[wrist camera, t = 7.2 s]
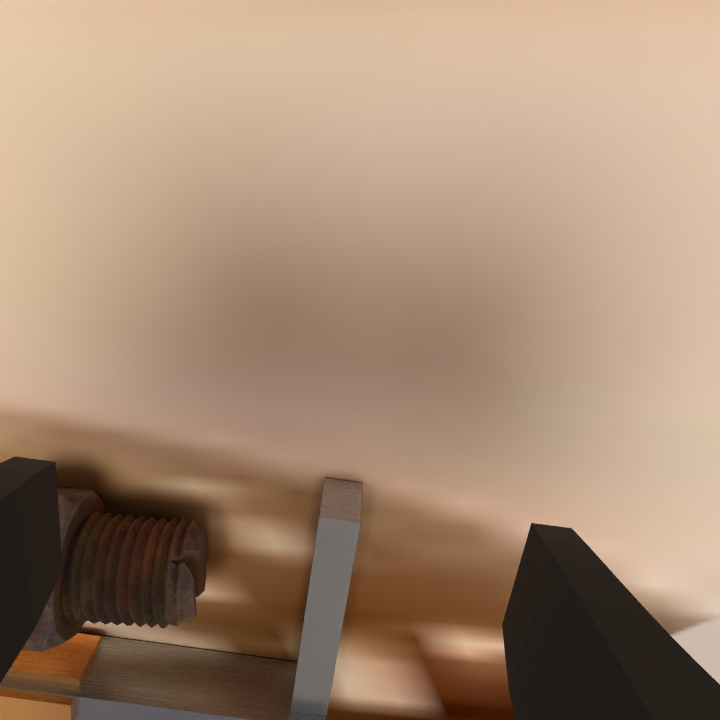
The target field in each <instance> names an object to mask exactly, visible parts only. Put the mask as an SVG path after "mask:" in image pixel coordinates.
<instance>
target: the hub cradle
mask: <svg viewBox="0 0 720 720" xmlns="http://www.w3.org/2000/svg"><path fill="white" fill-rule="evenodd" d="M362 492H363V483H358V482H351V481H344V480H337V479H330V478H325V481H324V488H323V495H322V502H321V508H320V515H319V522H318V529H317V535H316V542H315V549H314V556H313V562H312V569H311V576H310V583H309V589H308V596H307V603H306V610H305V616H304V623H303V630H302V637H301V644H300V650H299V657H298V662H292V661H285V660H277V659H270V658H263V657H255V656H248V655H240V654H233V653H226V652H218V651H211V650H203V649H196V648H189V647H181V646H174V645H167V644H159V643H152V642H144V641H137V640H130V639H122V638H115V637H107V636H100V635H93V634H85V633H77V634H76V635H75V636H74V637H72V638H71V639H69V640H68V641H66V642H64V643H63V644H61V645H59V646H56V647H53V648H51V649H48V650H45V651H42V652H41V651H27V650H21V652H20V653H19V655H18V656H17V658H16V660H15V661H14V663H13V664H12V666H11V668H10V669H9V671H8V672H7V674H6V675H5V677H4V679H3V680H2V682H1V683H0V720H326V714H327V708H328V703H329V697H330V692H331V686H332V680H333V675H334V669H335V664H336V658H337V653H338V647H339V642H340V636H341V630H342V625H343V619H344V614H345V608H346V603H347V597H348V592H349V586H350V580H351V575H352V569H353V564H354V558H355V553H356V547H357V542H358V536H359V530H360V525H361V510H362Z"/></svg>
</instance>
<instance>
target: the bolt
mask: <svg viewBox="0 0 720 720" xmlns="http://www.w3.org/2000/svg"><path fill="white" fill-rule="evenodd" d="M57 493H58V507H59V522H60V537H61V552H62V566H63V570H62V572H61V574H60V576H59V578H58V581H57V583H56V585H55V587H54V589H53V591H52V594H51V596H50V598H49V600H48V602H47V604H46V606H45V608H44V610H43V612H42V614H41V617H40V619H39V621H38V623H37V625H36V627H35V629H34V631H33V632H32V634H31V636H30V637H29V639H28V641H27V642H26V644H25V645H24V647H23V649H22V650H27V651H41V652H42V651H45V650H48V649H51V648H53V647H56V646H59V645H61V644H63V643H64V642H66V641H68V640H69V639H71V638H72V637H74V636H75V635H76V634H77V633H78V631H79V630H80V628H81V627H82V626H83V624H84V623H85V622H86V621H90V622H92V623H97V622H99V621H100V622H102V623H104V624H107V623H110V622H112V623H114V624H116V625H119V624H121V623H122V622H123V623H125V624H126V625H127V626H129V625H132V624H133V623H134V622H135V623H136V624H137V625H138V626H139V627H141V626H143V625H144V624H145V623H147V624H148V625H149V626H150V627H151V628H152V627H154V626H155V625H156V624H157V623H158V624H159V626H160V627H161V628H165V627H166V626H167V625H168V624H169V623H170V624H172V625H176V626H178V625H179V624H180V623H181V622H182V621H185V622H190V621H192V620H193V619H194V618H195V617H196V616H197V614H196V599H195V597H198V596H199V595H200V594H201V593H202V592H203V591H204V589H205V581H206V538H205V536H204V534H203V533H202V532H201V531H200V530H199V529H198V526H197V524H196V522H195V521H193V522H192V523H191V524H190V525H187V522H186V520H185V519H183V520H182V521H181V522H180V523H179V524H178V522H177V520H176V518H173V519H172V520H171V521H170V522H167V520H166V518H165V517H164V518H161V519H160V520H159V521H158V522H157V520H156V518H154V517H153V516H152V517H151V518H149V519H148V520H147V521H146V519H145V517H143V516H142V515H141V516H140V517H138V518H137V519H136V520H135V518H134V517H133V515H128V516H127V517H126V518H124V516H123V515H121V514H120V513H119V514H118V515H116V516H115V517H113V516H112V514H111V513H106V514H105V515H104V504H103V502H102V500H101V499H100V497H99V496H98V495H97V494H96V493H95V491H94V490H93V489H82V488H71V487H58V486H57Z"/></svg>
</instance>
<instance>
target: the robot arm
mask: <svg viewBox="0 0 720 720" xmlns="http://www.w3.org/2000/svg"><path fill="white" fill-rule="evenodd" d="M62 570H63V566H62V552H61V537H60V522H59V507H58V493H57V478H56V463H55V462H52V461H44V460H37V459H29V458H21V457H13V458H11V459H9V460H6V461H4V462H2V463H0V683H1V682H2V680H3V679H4V677H5V675H6V674H7V672H8V671H9V669H10V668H11V666H12V664H13V663H14V661H15V660H16V658H17V656H18V655H19V653H20V652H21V650H22V649H23V647H24V645H25V644H26V642H27V641H28V639H29V637H30V636H31V634H32V632H33V631H34V629H35V627H36V625H37V623H38V621H39V619H40V617H41V614H42V612H43V610H44V608H45V606H46V604H47V602H48V600H49V598H50V596H51V594H52V591H53V589H54V587H55V585H56V583H57V581H58V578H59V576H60V574H61V572H62ZM502 626H503V637H504V647H505V658H506V667H507V675H508V684H509V692H510V696H511V701H512V706H513V710H514V715H515V719H516V720H720V685H719V683H718V682H716V681H715V680H714V679H713V678H712V677H711V676H710V675H709V674H708V673H707V672H706V671H705V670H704V669H703V668H702V667H701V666H700V665H699V664H698V663H697V662H695V660H694V659H693V658H692V657H691V656H690V655H689V654H688V653H687V652H686V651H685V650H684V649H683V648H682V647H681V646H680V645H679V644H678V643H677V642H676V641H675V640H674V639H673V638H672V637H671V636H670V635H669V634H668V633H667V631H666V630H665V629H664V628H663V627H662V626H661V625H660V624H659V623H658V622H657V621H656V620H655V619H654V618H653V617H652V616H651V615H650V613H649V612H648V611H647V610H646V609H645V608H644V607H643V606H642V605H641V604H640V603H639V602H638V600H637V599H636V598H635V597H634V596H633V595H632V594H631V593H630V592H629V591H628V589H627V588H626V587H625V586H624V585H623V584H622V583H621V582H620V581H619V580H618V578H617V577H616V576H615V575H614V574H613V573H612V572H611V571H610V570H609V568H608V567H607V566H606V565H605V564H604V563H603V562H602V561H601V560H600V558H599V557H598V556H597V555H596V554H595V553H594V552H593V551H592V550H591V548H590V547H589V546H588V545H587V544H586V543H585V542H584V541H583V540H582V539H581V538H580V537H579V536H578V534H577V533H576V532H575V531H574V530H573V529H572V528H565V527H558V526H550V525H542V524H534V523H531V527H530V530H529V534H528V537H527V541H526V544H525V548H524V551H523V555H522V558H521V561H520V565H519V568H518V572H517V575H516V579H515V582H514V586H513V589H512V593H511V596H510V600H509V603H508V607H507V610H506V614H505V617H504V621H503V624H502Z"/></svg>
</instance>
